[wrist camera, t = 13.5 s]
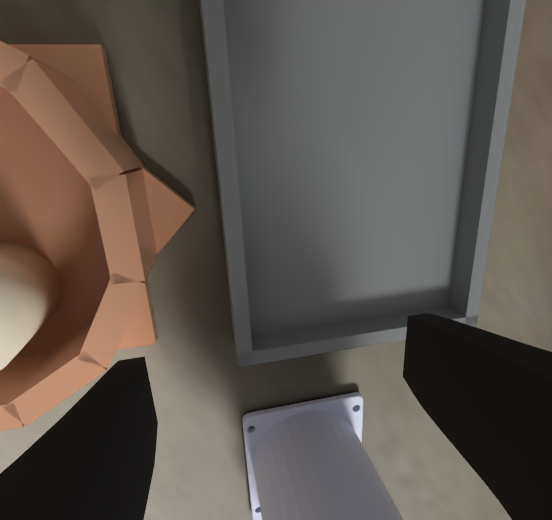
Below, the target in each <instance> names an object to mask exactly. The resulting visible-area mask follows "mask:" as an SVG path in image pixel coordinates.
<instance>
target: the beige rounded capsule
mask: <svg viewBox="0 0 552 520" xmlns="http://www.w3.org/2000/svg"><path fill="white" fill-rule="evenodd" d="M61 298H62V285H61V281H60V278H59V275H58V273H57V271H56V270H55V268H54V267H53V265H52V264H51V263H50V262H49V261H48V260H47V259H46V258H45V257H44V256H42V255H41V254H40V253H38V252H37V251H35V250H33V249H31V248H29V247H27V246H24V245H21V244H18V243H13V242H6V241H0V370H2V369H3V368H4V367H5V366H7V365H8V363H9V362H10V361H11V360H12V359H13V358H14V357H15V356H16V355H17V354H18V353H19V351H20V350H21V349H22V348H23V347H24V346H25V345H26V344H27V343H28V342H29V340H30V339H31V338H32V337H33V336H34V335H35V334H36V333H37V332H38V331H39V329H40V328H41V327H42V326H43V325H44V324H45V323H46V322H47V321H48V320H49V318H50V317H51V316H52V315H53V314H54V313H55V311H56V310H57V308H58V306H59V304H60V301H61Z"/></svg>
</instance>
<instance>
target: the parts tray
mask: <svg viewBox="0 0 552 520" xmlns="http://www.w3.org/2000/svg"><path fill="white" fill-rule="evenodd" d="M525 4H526V0H199V5H200V15H201V25H202V34H203V44H204V54H205V64H206V73H207V83H208V93H209V103H210V112H211V122H212V132H213V142H214V151H215V161H216V171H217V181H218V190H219V200H220V210H221V220H222V229H223V239H224V249H225V259H226V268H227V278H228V288H229V298H230V307H231V317H232V327H233V337H234V345H235V351H236V356H237V362H238V367H244V366H250V365H256V364H262V363H268V362H274V361H280V360H286V359H292V358H298V357H304V356H310V355H316V354H322V353H328V352H334V351H340V350H346V349H352V348H357V347H363V346H369V345H375V344H381V343H387V342H393V341H399V340H405V339H406V332H407V319H408V316H411V315H418V314H424V313H429V314H434V315H438V316H441V317H445V318H448V319H451V320H455V321H458V322H461V323H464V324H467V325H470V326H473V327H476V325H477V319H478V312H479V306H480V299H481V293H482V286H483V279H484V273H485V266H486V260H487V253H488V247H489V240H490V234H491V227H492V220H493V214H494V207H495V201H496V194H497V188H498V181H499V175H500V168H501V162H502V155H503V148H504V142H505V135H506V129H507V122H508V116H509V109H510V103H511V96H512V89H513V83H514V76H515V70H516V63H517V57H518V50H519V44H520V37H521V31H522V24H523V17H524V11H525Z"/></svg>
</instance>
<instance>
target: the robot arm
mask: <svg viewBox="0 0 552 520" xmlns="http://www.w3.org/2000/svg"><path fill="white" fill-rule="evenodd" d="M403 377H404V379H405V381H406V382H407V384H408V386H409V387H410V389H411V391H412V392H413V394H414V395H415V397H416V398H417V400H418V401H419V403H420V404H421V406H422V407H423V409H424V410H425V411H426V412H427V414H428V415H429V416H430V417H431V419H432V420H433V421H434V422H435V424H436V425H437V426H438V427H439V428H440V430H441V431H442V432H443V433H444V434H445V436H446V437H447V438H448V439H449V440H450V442H451V443H452V444H453V445H454V446H455V448H456V449H457V450H458V451H459V452H460V454H461V455H462V456H463V457H464V458H465V460H466V461H467V462H468V463H469V464H470V466H471V467H472V468H473V469H474V470H475V472H476V473H477V474H478V475H479V476H480V478H481V479H482V480H483V481H484V482H485V484H486V485H487V486H488V487H489V489H490V490H491V491H492V493H493V494H494V495H495V496H496V498H497V499H498V500H499V502H500V503H501V504H502V506H503V507H504V509H505V510H506V511H507V513H508V514H509V516H510V517H511V519H512V520H552V352H550V351H547V350H543V349H540V348H536V347H533V346H530V345H527V344H524V343H521V342H518V341H515V340H512V339H509V338H506V337H503V336H500V335H497V334H494V333H491V332H488V331H485V330H482V329H479V328H476V327H473V326H470V325H467V324H464V323H461V322H458V321H455V320H451V319H448V318H445V317H441V316H438V315H434V314H429V313H424V314H418V315H411V316H408V319H407V332H406V344H405V357H404V369H403ZM355 405H357V406H356V407H354V406H355ZM242 423H243V433H244V442H245V452H246V462H247V472H248V482H249V491H250V501H251V511H252V520H403V518H402V516H401V515H400V513H399V511H398V509H397V507H396V505H395V504H394V502H393V500H392V498H391V496H390V494H389V493H388V491H387V489H386V487H385V485H384V483H383V482H382V480H381V478H380V476H379V474H378V472H377V471H376V469H375V467H374V465H373V463H372V461H371V460H370V458H369V456H368V454H367V452H366V450H365V449H364V447H363V445H362V423H363V397H362V396H361V394H360V393H358V392H354V393H349V394H344V395H338V396H333V397H328V398H323V399H318V400H312V401H307V402H302V403H297V404H292V405H287V406H281V407H276V408H271V409H266V410H261V411H255V412H250V413H247V414H246V415H244V417H243V419H242ZM157 425H158V422H157V417H156V412H155V407H154V402H153V397H152V392H151V387H150V382H149V377H148V372H147V367H146V362H145V357H139V358H133V359H126V360H120V361H118V362H117V363H116V364H115V365H113V366H112V367H111V368H110V369H109V370H108V371H107V372H106V373H105V374H104V376H103V377H102V378H101V379H100V380H99V381H98V382H97V383H96V384H95V385H94V386H93V387H92V388H91V389H90V390H89V391H88V392H87V393H86V394H85V395H84V396H83V397H82V398H81V399H80V400H79V401H78V402H77V403H76V404H75V405H74V406H73V407H72V408H71V409H70V410H69V411H68V412H67V413H66V414H65V415H64V416H63V417H62V418H61V419H60V420H59V421H58V422H57V423H56V424H55V425H54V426H52V427H51V428H50V429H49V430H48V431H47V432H46V433H45V434H44V435H43V436H42V437H41V438H39V439H38V440H37V441H36V442H35V443H34V444H33V445H32V446H31V447H30V448H29V449H28V450H26V451H25V452H24V453H23V454H22V455H21V456H20V457H19V458H18V459H17V460H16V461H14V462H13V463H12V464H11V465H10V466H9V467H8V468H6V469H5V470H4V471H3V472H2V473H1V474H0V520H143V519H144V514H145V509H146V504H147V499H148V494H149V489H150V484H151V479H152V474H153V468H154V462H155V451H156V439H157ZM250 426H254V427H252V428H249V427H250Z"/></svg>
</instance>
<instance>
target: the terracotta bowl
mask: <svg viewBox="0 0 552 520" xmlns="http://www.w3.org/2000/svg"><path fill="white" fill-rule="evenodd" d="M194 210H195V206H193V205H192V204H191V203H190V202H188V201H187V200H186V199H185V198H183V197H182V196H181V195H180V194H178V193H177V192H176V191H175V190H173V189H172V188H171V187H170V186H168V185H167V184H166V183H164V182H163V181H162V180H161V179H159V178H158V177H157V176H156V175H154V174H153V173H152V172H151V171H149V170H148V169H147V168H146V167H144V165H143V164H142V162H141V161H140V160H139V158H138V157H137V156H136V155H135V153H134V152H133V151H132V149H131V148H130V147H129V146H128V144H127V143H126V142H125V140H124V139H123V138H122V137H121V131H120V126H119V120H118V115H117V109H116V104H115V98H114V93H113V87H112V82H111V76H110V71H109V65H108V60H107V54H106V50H105V49H104V48H103V47H102V46H101V44H6V43H4V42H2V41H0V241H6V242H13V243H18V244H21V245H24V246H27V247H29V248H31V249H33V250H35V251H37V252H38V253H40V254H41V255H42V256H44V257H45V258H46V259H47V260H48V261H49V262H50V263H51V264H52V265H53V267H54V268H55V270H56V271H57V273H58V275H59V278H60V281H61V285H62V298H61V301H60V304H59V306H58V308H57V310H56V311H55V313H54V314H53V315H52V316H51V317H50V318H49V320H48V321H47V322H46V323H45V324H44V325H43V326H42V327H41V328H40V329H39V331H38V332H37V333H36V334H35V335H34V336H33V337H32V338H31V339H30V340H29V342H28V343H27V344H26V345H25V346H24V347H23V348H22V349H21V350H20V351H19V353H18V354H17V355H16V356H15V357H14V358H13V359H12V360H11V361H10V362H9V363H8V365H7V366H5V367H4V368H3V369H2V370H0V431H4V430H10V429H16V428H21V427H24V425H26V426H27V425H28V424H30V423H31V422H33V421H34V420H36V419H37V418H38V417H40V416H41V415H43V414H44V413H46V412H47V411H48V410H50V409H51V408H53V407H54V406H56V405H57V404H59V403H60V402H61V401H63V400H64V399H66V398H67V397H69V396H70V395H72V394H73V393H74V392H76V391H77V390H79V389H80V388H82V387H83V386H85V385H86V384H87V383H89V382H90V381H92V380H93V379H95V378H96V377H97V376H99V375H100V374H102V373H103V372H105V371H106V370H107V368H108V367H109V365H110V363H111V360H112V358H113V356H114V354H115V351H116V350H117V349H124V348H131V347H138V346H144V345H151V344H156V342H157V338H158V334H157V328H156V323H155V318H154V312H153V307H152V301H151V296H150V290H149V285H148V279H147V277H148V275H149V273H150V270H151V268H152V266H153V263H154V261H155V259H156V256H157V254H158V253H159V252H160V251H161V250H162V248H163V247H164V246H165V245H166V244H167V242H168V241H169V240H170V239H171V238H172V236H173V235H174V234H175V233H176V231H177V230H178V229H179V228H180V227H181V225H182V224H183V223H184V222H185V221H186V219H187V218H188V217H189V216H190V215H191V213H192V212H193V211H194Z"/></svg>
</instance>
